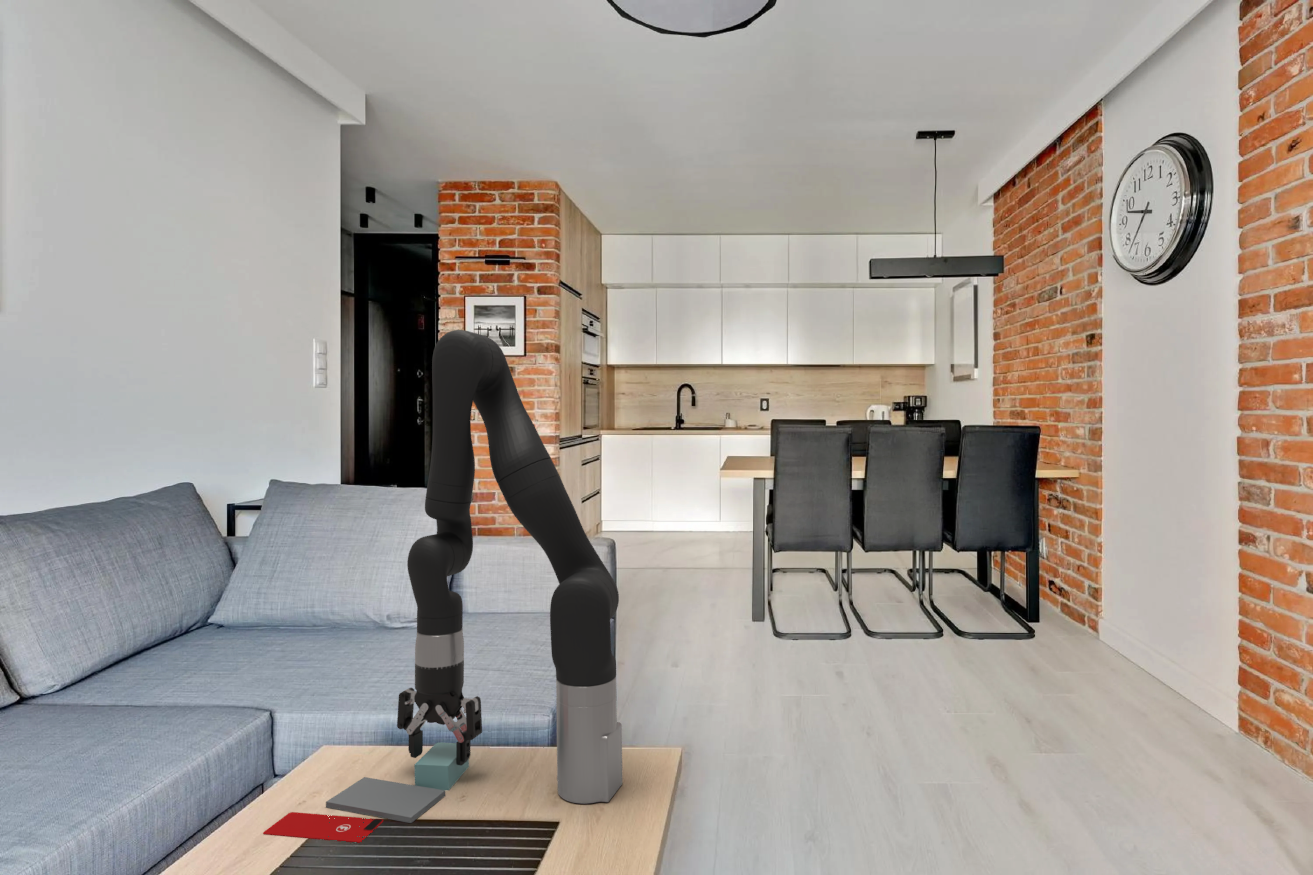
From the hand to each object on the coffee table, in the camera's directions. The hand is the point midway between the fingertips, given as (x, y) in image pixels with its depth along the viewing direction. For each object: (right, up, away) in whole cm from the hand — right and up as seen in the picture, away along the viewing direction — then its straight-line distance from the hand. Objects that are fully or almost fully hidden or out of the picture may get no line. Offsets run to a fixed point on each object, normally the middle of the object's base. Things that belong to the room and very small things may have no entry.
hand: (438, 759), depth 112 cm
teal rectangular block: (+1, -3, 0) cm, 3 cm away
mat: (-6, -3, -7) cm, 10 cm away
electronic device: (-12, -4, -14) cm, 19 cm away
